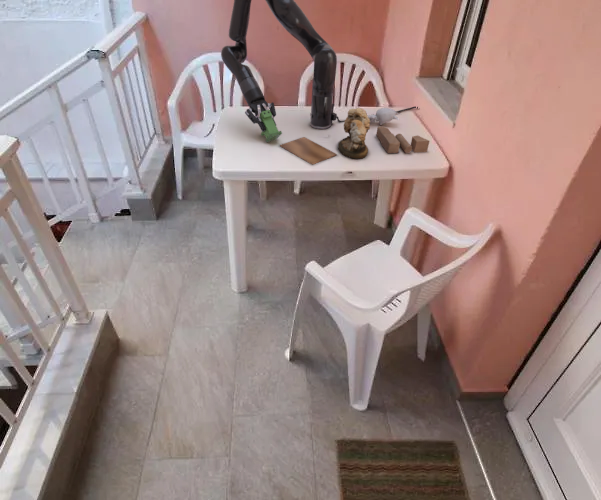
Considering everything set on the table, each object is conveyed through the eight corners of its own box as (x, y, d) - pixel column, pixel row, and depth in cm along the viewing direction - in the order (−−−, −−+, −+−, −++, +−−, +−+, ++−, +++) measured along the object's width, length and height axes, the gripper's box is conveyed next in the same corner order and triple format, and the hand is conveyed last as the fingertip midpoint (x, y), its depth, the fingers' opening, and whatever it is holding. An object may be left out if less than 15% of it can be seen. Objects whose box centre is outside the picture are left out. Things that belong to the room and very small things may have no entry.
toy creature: (358, 109, 195) (402, 107, 191) (358, 125, 198) (401, 123, 193) (355, 109, 184) (402, 107, 179) (355, 126, 186) (401, 124, 181)
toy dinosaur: (256, 136, 176) (255, 109, 168) (266, 133, 178) (265, 106, 171) (272, 145, 169) (272, 118, 162) (282, 142, 172) (282, 115, 164)
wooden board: (304, 138, 176) (304, 136, 176) (336, 155, 165) (336, 154, 164) (280, 146, 170) (280, 144, 169) (312, 164, 158) (312, 163, 158)
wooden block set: (390, 141, 163) (377, 123, 176) (388, 155, 166) (375, 136, 180) (431, 139, 165) (414, 122, 179) (428, 153, 169) (412, 134, 182)
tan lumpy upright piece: (333, 140, 175) (336, 100, 164) (359, 139, 177) (364, 99, 166) (344, 160, 162) (348, 117, 151) (373, 158, 163) (379, 116, 153)
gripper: (240, 90, 163) (259, 129, 164) (269, 83, 170) (287, 121, 171) (233, 99, 169) (252, 137, 170) (262, 92, 177) (279, 129, 177)
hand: (269, 129), depth 170 cm, fingers closed on toy dinosaur, 4 cm apart
